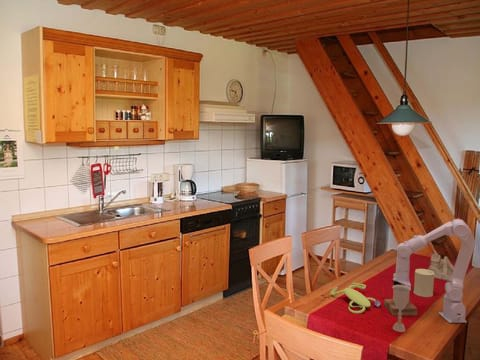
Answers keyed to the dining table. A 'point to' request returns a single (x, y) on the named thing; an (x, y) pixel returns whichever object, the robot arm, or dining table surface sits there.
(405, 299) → the chalice
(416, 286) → the can
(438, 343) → the dining table surface
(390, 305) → the plinth
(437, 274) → the ceramic cottage
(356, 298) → the figurine
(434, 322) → the dining table surface
